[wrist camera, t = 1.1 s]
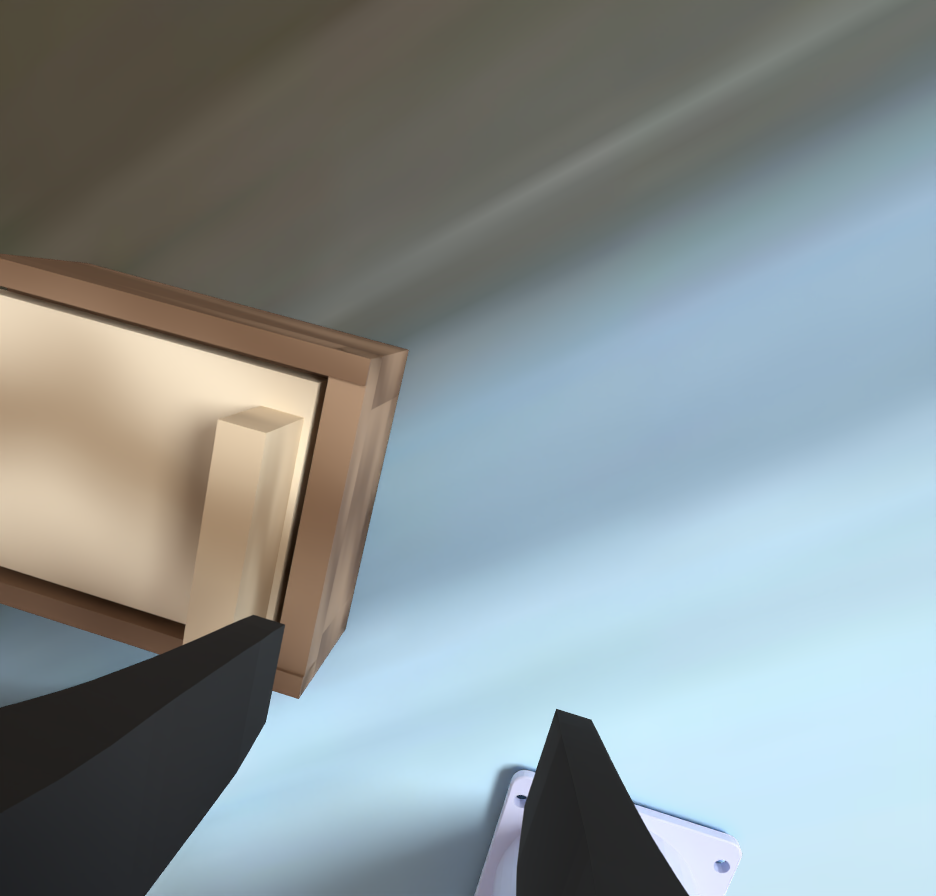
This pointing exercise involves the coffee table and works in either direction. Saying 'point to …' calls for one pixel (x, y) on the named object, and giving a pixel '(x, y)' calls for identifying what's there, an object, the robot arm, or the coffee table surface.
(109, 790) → the robot arm
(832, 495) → the coffee table surface
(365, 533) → the box
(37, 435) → the lid
